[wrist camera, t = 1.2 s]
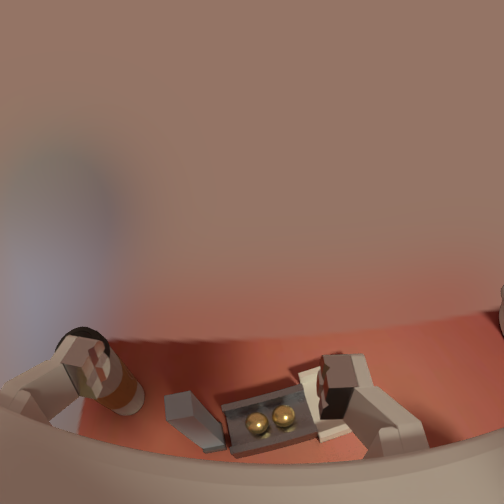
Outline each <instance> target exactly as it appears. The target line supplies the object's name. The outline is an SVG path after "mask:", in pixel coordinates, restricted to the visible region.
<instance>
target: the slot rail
mask: <svg viewBox="0 0 504 504" xmlns="http://www.w3.org/2000/svg"><path fill="white" fill-rule="evenodd" d="M280 405H288V406H290V407H291V408H293V410H294V412H295V420H294V422H293V423H292V424H291V425H289V426H287V427H280V426H277V425H276V424H275V423H274V422H273V420H272V412H273V410H274V409H275V408H276V407H277V406H280ZM221 407H222V412H223V413H224V414H225V415H226V417H227V423H228V428H229V433H230V438H231V442H232V447H229V448H230V453H231V455H233V456H234V457H235V458H236V459H237V458H242V457H246V456H251V455H255V454H260V453H264V452H268V451H272V450H276V449H279V448H283V447H287V446H290V445H294V444H297V443H301V442H304V441H307V440H311V439H314V438H317V437H318V429H317V426H316V424H314V421H313V418H312V415H311V412H310V409H309V406H308V403H307V400H306V397H305V393H304V388H303V385H302V383H301V384H298V385H295V386H292V387H288V388H285V389H282V390H278V391H275V392H271V393H267V394H264V395H260V396H256V397H252V398H249V399H245V400H241V401H237V402H232V403H228V404H224V405H221ZM254 412H260V413H263V414H264V415H266V417H267V418H268V421H269V425H268V428H267V429H266V431H264V432H263V433H261V434H253V433H251V432H249V431H248V430H247V428H246V426H245V420H246V418H247V416H248V415H249V414H251V413H254Z"/></svg>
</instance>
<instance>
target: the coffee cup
mask: <svg viewBox="0 0 504 504" xmlns="http://www.w3.org/2000/svg"><path fill="white" fill-rule="evenodd" d="M68 335H72V336H77V337H84V338H89V339H95V340H100V341H102V342H103V344H104V347H105V349H104V351H103V352H104V353H105V354H106V355H107V356H108V358H109V361H110V372H109V375H108V378H107V379H106V380H105V381H103V382H102V386H103V388H102V390H101V392H100V394H99V396H98V398H97V399H94V400H95V401H97V402H99V403H100V404H102V405H103V406H105V407H107V408H108V409H111V410H112V411H114V412H116V413H117V414H119V415H131V414H134V413H136V412H137V411H138V410H139V409H140V408H141V407H142V405H143V403H144V390H143V388H142V386H141V385H140V384H139V382H138V381H137V380H136V378H135V377H134V376H133V374H132V373H131V372H130V371H129V369H128V368H127V367H126V366H125V364H124V363H123V362H122V361H121V359H120V358H119V357H118V355H117V354H116V353H115V352H114V351H113V350H112V349H111V347H110V346H109V343H108V341H107V340H106V339H105V338H104V337H103V336H102V335H101V334H100V333H99V332H97V331H95V330H92V329H90V328H88V327H78V328H75V329H73V330H71V331H70V332H68V333H67V334H66V335H65V336H64V337H63V338H62V339H61V340H60V342H59V343H58V345H57V347H56V349H55V352H56V351H57V349H58V348H59V346H60V345H61V343H62V342H63V340H64V339H65V338H66V336H68Z"/></svg>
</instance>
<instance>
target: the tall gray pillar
mask: <svg viewBox="0 0 504 504" xmlns="http://www.w3.org/2000/svg"><path fill="white" fill-rule="evenodd" d="M164 401H165V413H166V421H167V422H168V423H170V424H171V425H172V426H173V427H175V428H176V429H177V430H179V431H180V432H181V433H182V434H184V435H185V436H186V437H188V438H189V439H190V440H192V441H193V442H194V443H196V444H197V445H198V446H200V447H201V448H203V452H204V453H212V452H217V451H223V450H227V447H226V442H225V437H224V432H223V427H222V423H221V422H217V421H216V419H215V418H214V417H213V416H212V415H211V414H210V413H209V412H208V411H207V409H206V408H205V407H204V406H203V405H202V404H201V403H200V401H199V400H198V399H197V398H196V397H195V396H194V394H193V393H192V392H191V391H186V392H181V393H176V394H171V395H165V396H164Z"/></svg>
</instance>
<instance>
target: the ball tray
mask: <svg viewBox="0 0 504 504" xmlns="http://www.w3.org/2000/svg"><path fill="white" fill-rule="evenodd" d="M319 370H320V366H319V367H316V368H313V369H310V370H307V371H304V372H300V373H298V375H299V381H300V384H301V383H302V385H303V388H304V393H305V397H306V400H307V403H308V406H309V409H310V412H311V415H312V418H313V421H314V424H316V426H317V429H318V437H319V440H320V443H321V442H325V441H328V440H330V439H333V438H336V437H339V436H342V435H345V434H347V433H350V432H352V430H351V429H350V428H349V427H348V426H347V425H346V423H345V422H344V421H343V419H335V420H320V416H319V408H318V404H319V400H320V398H319V397H318V396H317V390H316V382H317V374H318V371H319Z"/></svg>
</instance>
